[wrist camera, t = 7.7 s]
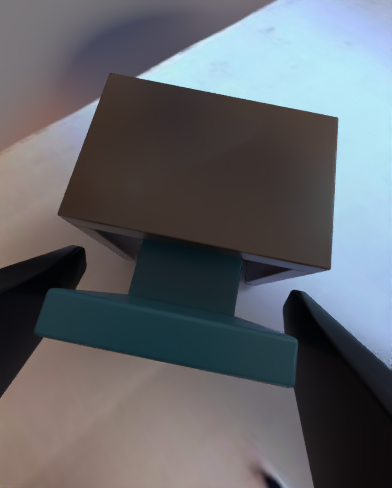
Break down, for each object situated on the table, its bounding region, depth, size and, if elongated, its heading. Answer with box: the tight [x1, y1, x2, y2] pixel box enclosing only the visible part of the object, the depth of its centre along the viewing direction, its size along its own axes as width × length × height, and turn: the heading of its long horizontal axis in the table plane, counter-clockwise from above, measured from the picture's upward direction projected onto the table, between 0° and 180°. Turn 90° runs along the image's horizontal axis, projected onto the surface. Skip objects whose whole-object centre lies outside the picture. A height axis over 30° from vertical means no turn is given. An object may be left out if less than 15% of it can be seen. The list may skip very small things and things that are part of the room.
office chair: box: [34, 239, 298, 388], centre depth 10 cm, size 5×6×11 cm
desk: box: [58, 73, 338, 285], centre depth 12 cm, size 6×9×8 cm, turn 79°
